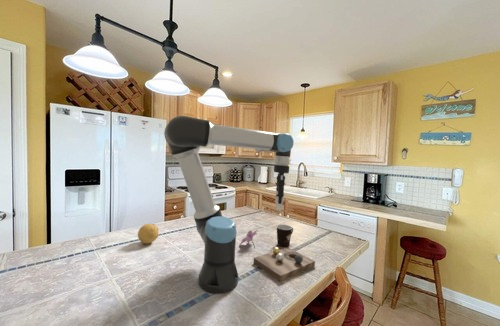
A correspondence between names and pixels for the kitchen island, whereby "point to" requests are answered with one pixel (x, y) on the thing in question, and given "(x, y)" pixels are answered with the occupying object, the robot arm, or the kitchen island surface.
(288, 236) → the coffee mug
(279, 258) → the steel ball
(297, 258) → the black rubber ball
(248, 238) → the lily
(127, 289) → the kitchen island surface
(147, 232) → the stress ball
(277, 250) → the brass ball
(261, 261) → the board
